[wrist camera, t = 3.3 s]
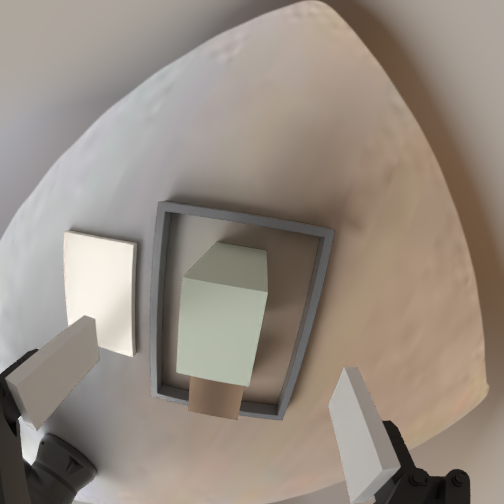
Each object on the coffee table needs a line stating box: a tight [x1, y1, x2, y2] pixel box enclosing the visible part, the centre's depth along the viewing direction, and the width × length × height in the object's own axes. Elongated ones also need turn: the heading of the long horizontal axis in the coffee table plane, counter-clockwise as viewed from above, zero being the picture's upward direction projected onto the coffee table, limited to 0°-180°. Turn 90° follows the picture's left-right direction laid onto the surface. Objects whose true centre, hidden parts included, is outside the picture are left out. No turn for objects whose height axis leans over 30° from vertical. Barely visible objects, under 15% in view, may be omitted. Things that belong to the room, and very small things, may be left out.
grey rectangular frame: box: [150, 201, 335, 420], centre depth 28 cm, size 17×24×2 cm
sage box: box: [176, 242, 268, 387], centre depth 22 cm, size 5×7×12 cm
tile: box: [63, 230, 137, 357], centre depth 29 cm, size 10×14×1 cm
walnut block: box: [188, 376, 244, 420], centre depth 27 cm, size 5×5×7 cm
